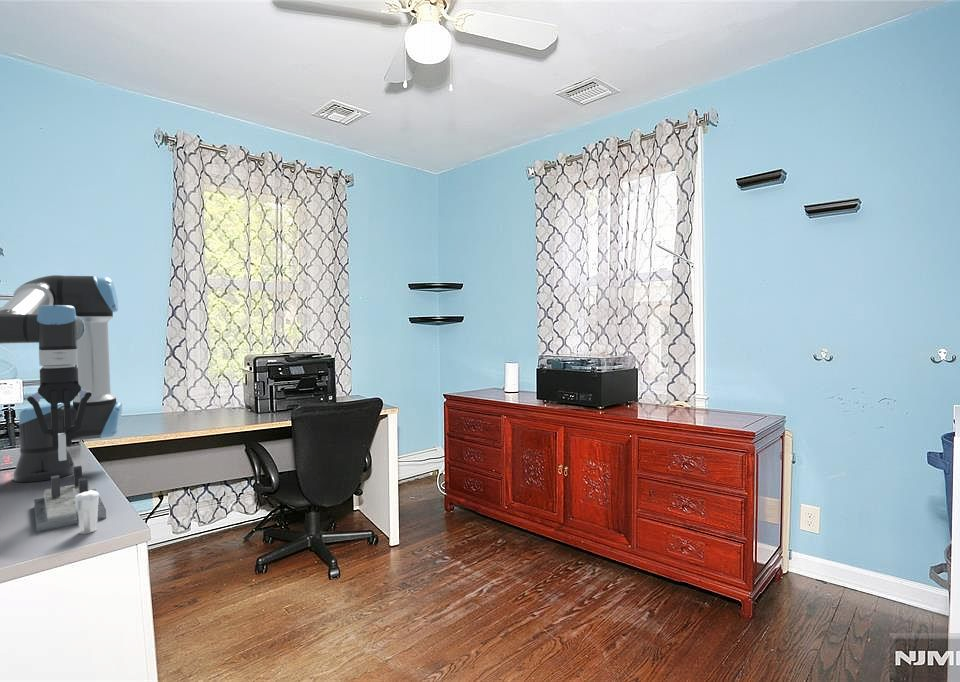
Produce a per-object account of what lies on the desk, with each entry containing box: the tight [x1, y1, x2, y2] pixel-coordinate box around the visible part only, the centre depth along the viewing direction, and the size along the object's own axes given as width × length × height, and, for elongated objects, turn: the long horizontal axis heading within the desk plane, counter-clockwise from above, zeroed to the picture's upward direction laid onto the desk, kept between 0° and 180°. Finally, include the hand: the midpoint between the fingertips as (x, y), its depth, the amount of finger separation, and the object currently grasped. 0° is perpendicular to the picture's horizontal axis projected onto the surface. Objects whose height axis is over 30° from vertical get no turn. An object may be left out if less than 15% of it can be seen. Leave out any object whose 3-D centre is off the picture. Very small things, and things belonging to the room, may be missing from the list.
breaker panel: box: [33, 465, 107, 533], centre depth 132 cm, size 24×13×10 cm, turn 41°
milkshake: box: [73, 488, 100, 535], centre depth 119 cm, size 4×5×10 cm
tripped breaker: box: [50, 475, 61, 498], centre depth 131 cm, size 3×2×5 cm, turn 41°
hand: (62, 459), depth 132 cm, fingers closed
